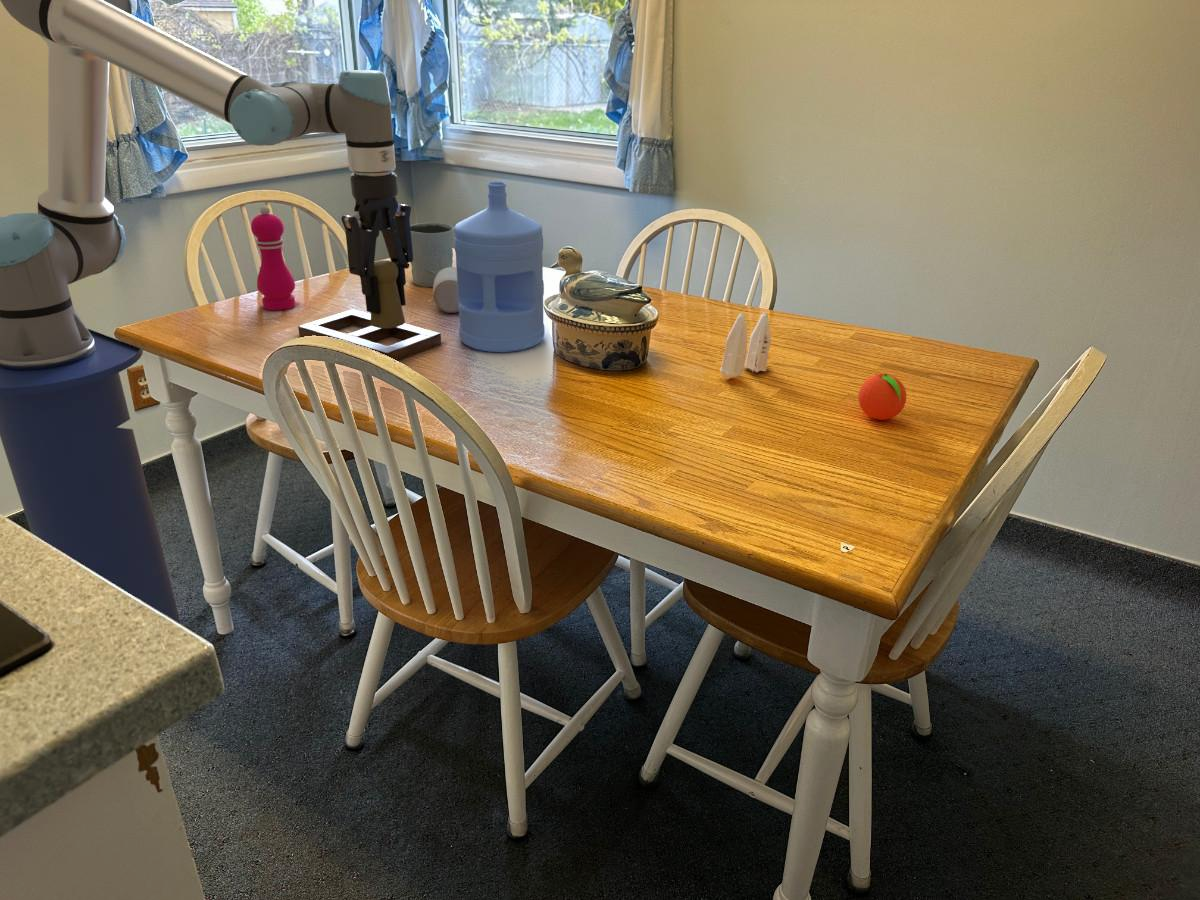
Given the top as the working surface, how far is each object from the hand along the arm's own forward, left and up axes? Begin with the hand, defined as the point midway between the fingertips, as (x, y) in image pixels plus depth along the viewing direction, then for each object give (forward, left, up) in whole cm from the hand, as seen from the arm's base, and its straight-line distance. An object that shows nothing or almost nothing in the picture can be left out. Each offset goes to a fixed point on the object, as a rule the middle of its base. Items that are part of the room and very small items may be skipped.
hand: (386, 307), depth 155 cm
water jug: (+14, +15, -7) cm, 22 cm away
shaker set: (+58, +26, -7) cm, 64 cm away
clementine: (+83, +22, -7) cm, 86 cm away
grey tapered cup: (-23, +35, -7) cm, 43 cm away
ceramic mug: (-5, +24, -7) cm, 26 cm away
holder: (-5, 0, -7) cm, 9 cm away
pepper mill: (-35, +3, -7) cm, 36 cm away
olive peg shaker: (0, 0, -3) cm, 3 cm away
